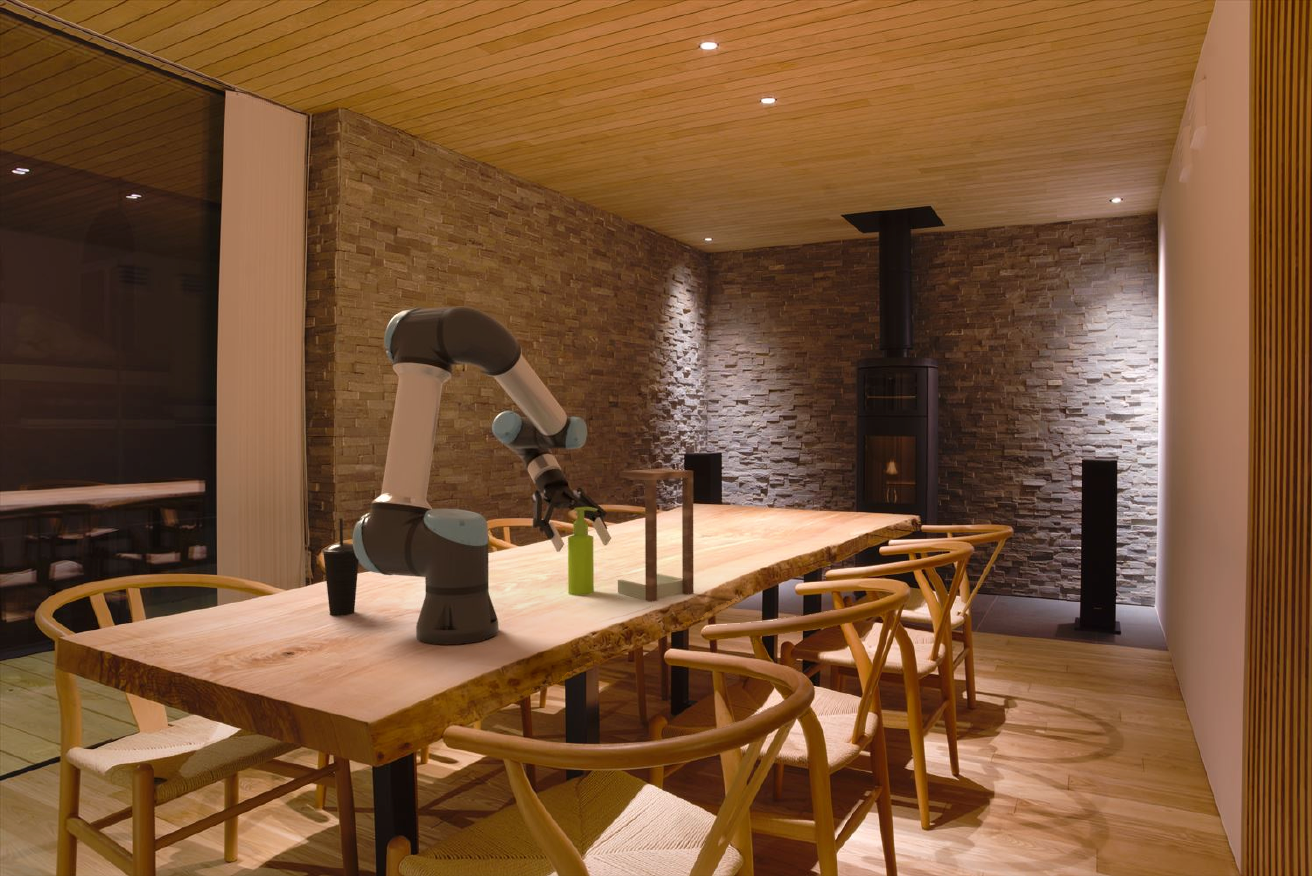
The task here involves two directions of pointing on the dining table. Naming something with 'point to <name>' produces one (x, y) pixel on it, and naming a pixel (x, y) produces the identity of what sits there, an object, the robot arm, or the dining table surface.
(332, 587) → the drinking cup
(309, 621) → the dining table surface
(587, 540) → the soap dispenser
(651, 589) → the wooden post arch
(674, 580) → the holder
